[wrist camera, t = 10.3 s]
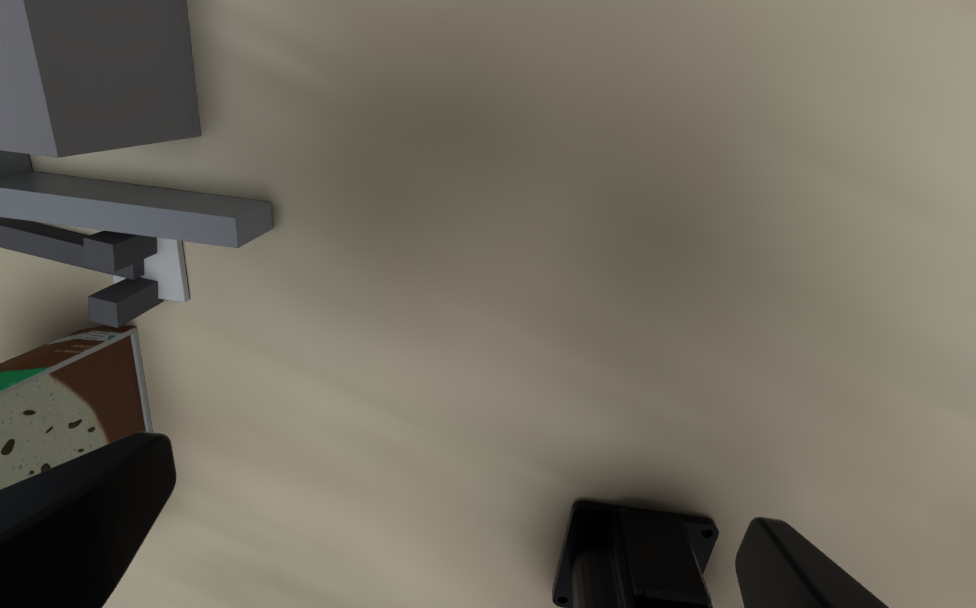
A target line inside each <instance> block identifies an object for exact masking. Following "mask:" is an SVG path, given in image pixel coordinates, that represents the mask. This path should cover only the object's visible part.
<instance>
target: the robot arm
mask: <svg viewBox="0 0 976 608" xmlns="http://www.w3.org/2000/svg"><path fill="white" fill-rule="evenodd" d="M175 483H176V469H175V463H174V458H173V452H172V446H171V441H170V439H169V438H168V436H166V435H164V434H159V433H152V432H145V431H144V432H136V433H133V434H131V435H129V436H126V437H124V438H121V439H119V440H117V441H114V442H112V443H110V444H107V445H105V446H102V447H100V448H98V449H95V450H93V451H91V452H88V453H86V454H83V455H81V456H79V457H76V458H74V459H72V460H69V461H67V462H64V463H62V464H60V465H57V466H55V467H53V468H50V469H48V470H45V471H43V472H41V473H38V474H36V475H34V476H31V477H29V478H27V479H24V480H22V481H19V482H17V483H15V484H12V485H10V486H8V487H5V488H3V489H0V608H102V607H103V605H104V604H105V602H106V601H107V599H108V598H109V597H110V595H111V594H112V592H113V591H114V589H115V588H116V586H117V585H118V583H119V581H120V580H121V578H122V577H123V575H124V573H125V572H126V570H127V568H128V567H129V565H130V563H131V562H132V560H133V558H134V557H135V555H136V553H137V551H138V550H139V548H140V546H141V545H142V543H143V541H144V540H145V538H146V536H147V534H148V533H149V531H150V529H151V528H152V526H153V524H154V522H155V521H156V519H157V517H158V516H159V514H160V512H161V511H162V509H163V507H164V505H165V504H166V502H167V500H168V499H169V497H170V495H171V493H172V491H173V489H174V487H175ZM581 512H587V513H584V514H581ZM705 529H708V530H705ZM718 534H719V531H718V529H717V526H716V524H715V522H714V521H713V520H712V519H709V518H704V517H697V516H689V515H682V514H675V513H668V512H661V511H653V510H646V509H639V508H632V507H625V506H617V505H610V504H603V503H596V502H589V501H579V502H576V503H575V504H574V505H573V507H572V509H571V514H570V518H569V522H568V526H567V531H566V535H565V539H564V543H563V548H562V552H561V556H560V560H559V565H558V569H557V573H556V577H555V582H554V586H553V590H552V597H553V603H554V604H555V605H557V606H559V607H564V608H713V606H712V603H711V597H710V594H709V592H708V589H707V586H706V583H705V581H704V578H703V572H704V570H705V567H706V565H707V562H708V560H709V557H710V555H711V552H712V550H713V547H714V545H715V542H716V540H717V537H718ZM735 566H736V573H737V578H738V582H739V586H740V590H741V595H742V599H743V603H744V607H745V608H889V607H888V606H886V605H885V604H884V603H883V602H882V601H880V600H879V599H878V598H877V597H876V596H874V595H873V594H872V593H871V592H869V591H868V590H867V589H866V588H865V587H863V586H862V585H861V584H860V583H859V582H857V581H856V580H855V579H854V578H853V577H851V576H850V575H849V574H848V573H847V572H845V571H844V570H843V569H842V568H841V567H839V566H838V565H837V564H836V563H835V562H833V561H832V560H831V559H830V558H829V557H827V556H826V555H825V554H824V553H823V552H821V551H820V550H819V549H818V548H817V547H815V546H814V545H813V544H812V543H810V542H809V541H808V540H807V539H806V538H804V537H803V536H802V535H801V534H800V533H798V532H797V531H796V530H795V529H794V528H792V527H791V526H790V525H789V524H787V523H786V522H784V521H782V520H778V519H771V518H763V517H756V518H754V519H753V520H752V521H751V522H750V524H749V526H748V529H747V531H746V533H745V536H744V538H743V540H742V543H741V545H740V547H739V550H738V552H737V555H736V561H735Z"/></svg>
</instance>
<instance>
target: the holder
mask: <svg viewBox="0 0 976 608" xmlns="http://www.w3.org/2000/svg"><path fill="white" fill-rule="evenodd" d="M0 217H5V218H12V219H20V220H28V221H35V222H43V223H51V224H58V225H66V226H74V227H81V228H89V229H97V230H104V231H112V232H120V233H127V234H135V235H143V236H150V237H158V238H165V239H173V240H181V241H188V242H196V243H204V244H211V245H219V246H227V247H234V248H239V247H240V246H242V245H244V244H246V243H248V242H249V241H251V240H253V239H255V238H257V237H258V236H260V235H262V234H264V233H266V232H268V231H269V230H271V229H273V226H272V208H271V202H266V201H258V200H250V199H243V198H235V197H227V196H219V195H211V194H204V193H196V192H188V191H180V190H173V189H165V188H157V187H149V186H142V185H134V184H126V183H118V182H110V181H103V180H95V179H87V178H79V177H72V176H64V175H56V174H48V173H40V172H33V171H32V168H31V164H30V160H29V156H28V154H26V153H18V152H10V151H2V150H0Z"/></svg>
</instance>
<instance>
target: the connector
mask: <svg viewBox="0 0 976 608" xmlns="http://www.w3.org/2000/svg"><path fill="white" fill-rule="evenodd" d="M198 136H201V131H200V122H199V113H198V103H197V94H196V85H195V76H194V67H193V58H192V49H191V40H190V31H189V22H188V12H187V3H186V0H0V150H2V151H10V152H18V153H26V154H34V155H42V156H50V157H65V156H72V155H78V154H85V153H92V152H98V151H105V150H112V149H118V148H125V147H132V146H138V145H145V144H152V143H158V142H165V141H172V140H178V139H185V138H192V137H198Z"/></svg>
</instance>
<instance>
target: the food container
mask: <svg viewBox="0 0 976 608" xmlns="http://www.w3.org/2000/svg"><path fill="white" fill-rule="evenodd" d="M144 431H145V432H152V433H153V431H152V424H151V418H150V411H149V404H148V398H147V391H146V385H145V378H144V372H143V365H142V358H141V352H140V345H139V339H138V332H137V327H136V326H123V325H122V326H121V327H119V328H115V327H111V326H107V325H105V326H100V327H95V328H90V329H85V330H80V331H77V332H74V333H72V334H70V335H67V336H65V337H62V338H60V339H58V340H55V341H53V342H50V343H48V344H46V345H43V346H41V347H39V348H36V349H34V350H31V351H29V352H27V353H24V354H22V355H19V356H17V357H15V358H12V359H10V360H7V361H5V362H3V363H0V489H3V488H5V487H8V486H10V485H12V484H15V483H17V482H19V481H22V480H24V479H27V478H29V477H31V476H34V475H36V474H38V473H41V472H43V471H45V470H48V469H50V468H53V467H55V466H57V465H60V464H62V463H64V462H67V461H69V460H72V459H74V458H76V457H79V456H81V455H83V454H86V453H88V452H91V451H93V450H95V449H98V448H100V447H102V446H105V445H107V444H110V443H112V442H114V441H117V440H119V439H121V438H124V437H126V436H129V435H131V434H133V433H136V432H144Z"/></svg>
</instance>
